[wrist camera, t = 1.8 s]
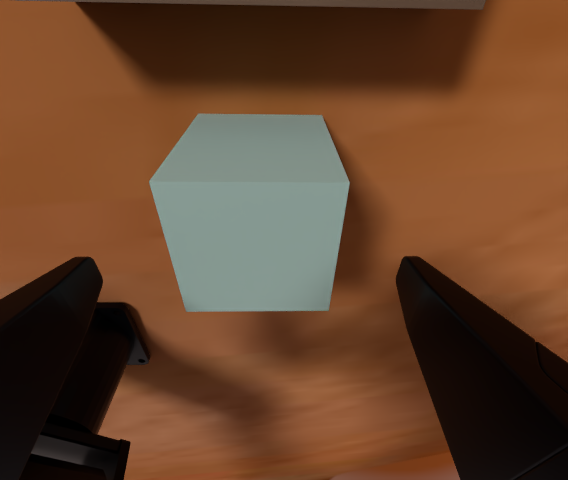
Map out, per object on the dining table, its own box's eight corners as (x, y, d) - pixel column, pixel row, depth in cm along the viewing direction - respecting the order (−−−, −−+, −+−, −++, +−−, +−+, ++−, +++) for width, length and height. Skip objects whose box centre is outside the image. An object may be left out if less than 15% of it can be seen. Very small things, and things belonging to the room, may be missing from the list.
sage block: (312, 216, 15) (328, 310, 11) (214, 216, 15) (186, 311, 11) (321, 114, 12) (349, 182, 8) (198, 113, 12) (148, 181, 7)
